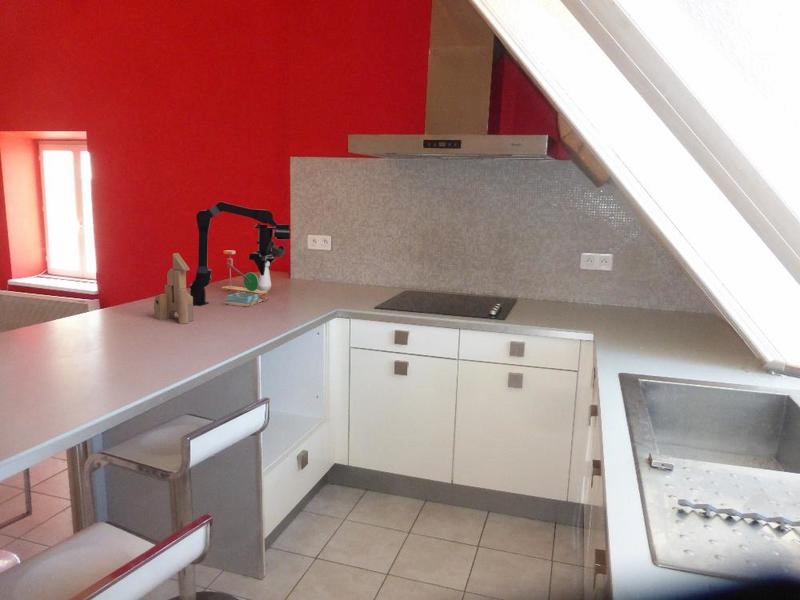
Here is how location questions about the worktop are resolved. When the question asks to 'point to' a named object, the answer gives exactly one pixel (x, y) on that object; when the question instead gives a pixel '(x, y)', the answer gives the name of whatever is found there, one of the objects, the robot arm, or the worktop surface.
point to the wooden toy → (175, 294)
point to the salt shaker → (265, 279)
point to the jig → (243, 299)
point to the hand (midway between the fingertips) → (264, 274)
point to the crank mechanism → (249, 278)
